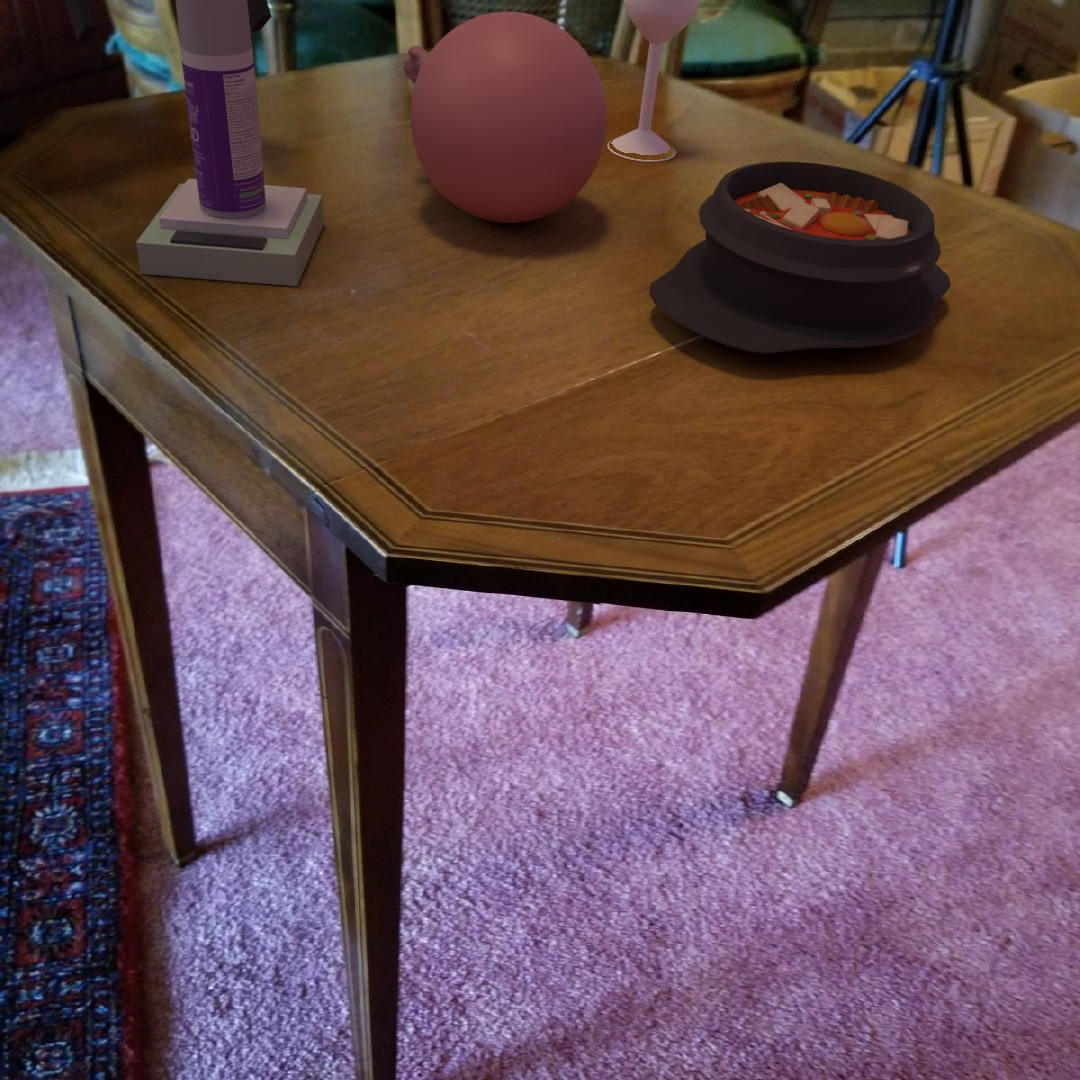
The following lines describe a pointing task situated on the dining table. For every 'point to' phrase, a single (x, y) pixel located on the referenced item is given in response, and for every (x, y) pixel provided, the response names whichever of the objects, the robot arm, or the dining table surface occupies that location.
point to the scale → (233, 238)
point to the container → (222, 106)
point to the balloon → (507, 116)
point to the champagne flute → (653, 67)
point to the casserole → (807, 262)
